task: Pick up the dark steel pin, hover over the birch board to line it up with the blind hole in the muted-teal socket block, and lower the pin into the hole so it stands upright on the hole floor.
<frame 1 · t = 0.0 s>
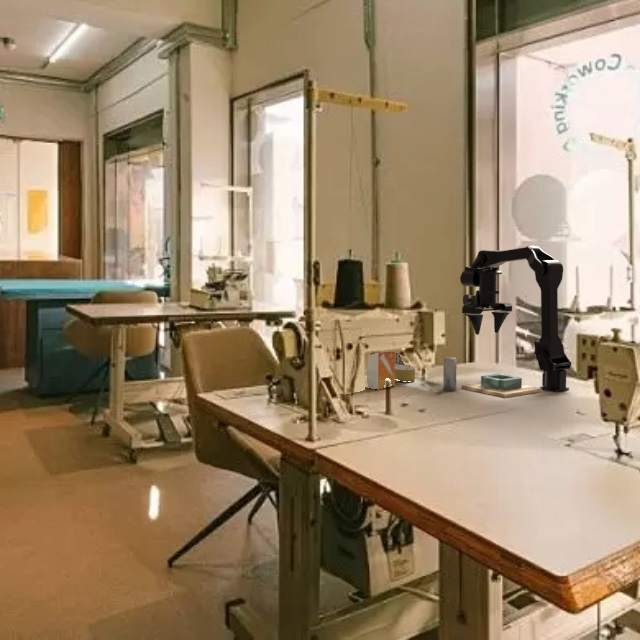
hand: (486, 333, 253), 15 cm above the table, fingers open, 9 cm apart
small box: (379, 388, 235), on the table
steel pin: (449, 390, 231), on the table
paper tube: (404, 381, 246), on the table
socket board: (500, 389, 230), on the table
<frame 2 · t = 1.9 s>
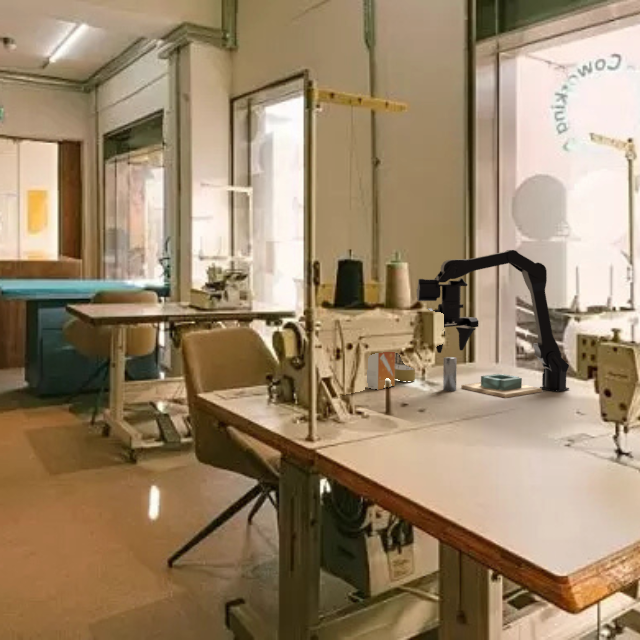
hand: (450, 351, 229), 12 cm above the table, fingers open, 9 cm apart
nothing on the table moved.
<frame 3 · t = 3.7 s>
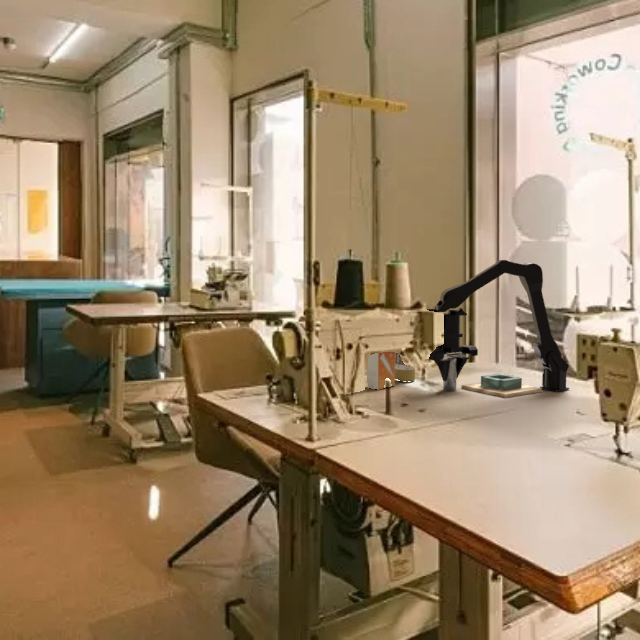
hand: (449, 380, 230), 3 cm above the table, fingers closed on steel pin, 4 cm apart
steel pin: (449, 390, 231), on the table, touching gripper
everything else where it was.
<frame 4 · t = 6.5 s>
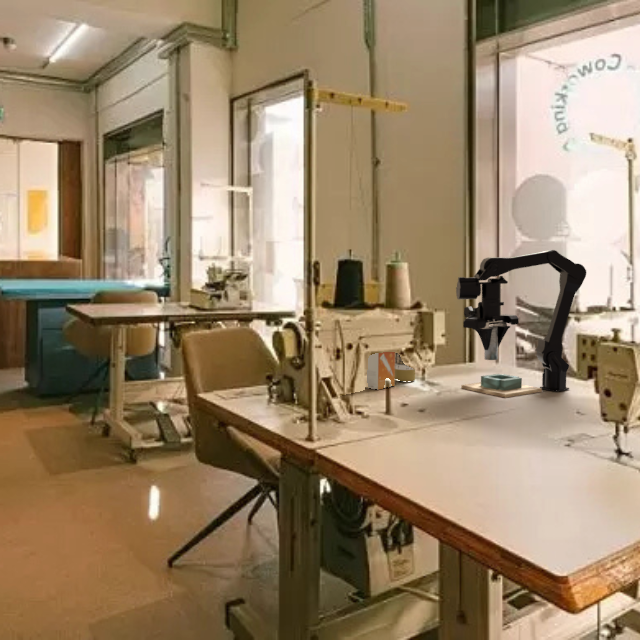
hand: (491, 349, 229), 13 cm above the table, fingers closed on steel pin, 4 cm apart
steel pin: (491, 359, 229), point 10 cm above the table, touching gripper
everything else where it was.
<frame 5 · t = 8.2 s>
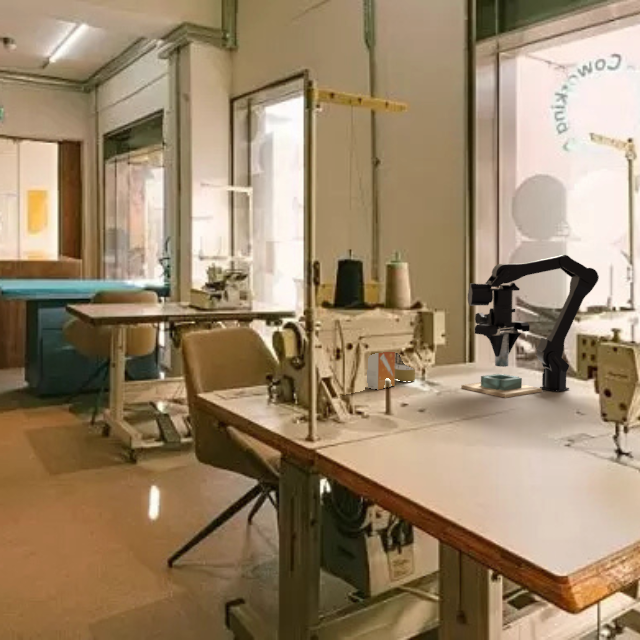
hand: (501, 355, 229), 11 cm above the table, fingers closed on steel pin, 4 cm apart
steel pin: (501, 365, 230), point 8 cm above the table, touching gripper
everything else where it was.
when the fingers open (5 cm above the table, at t = 9.7 s): steel pin stays where it is, resting on socket board.
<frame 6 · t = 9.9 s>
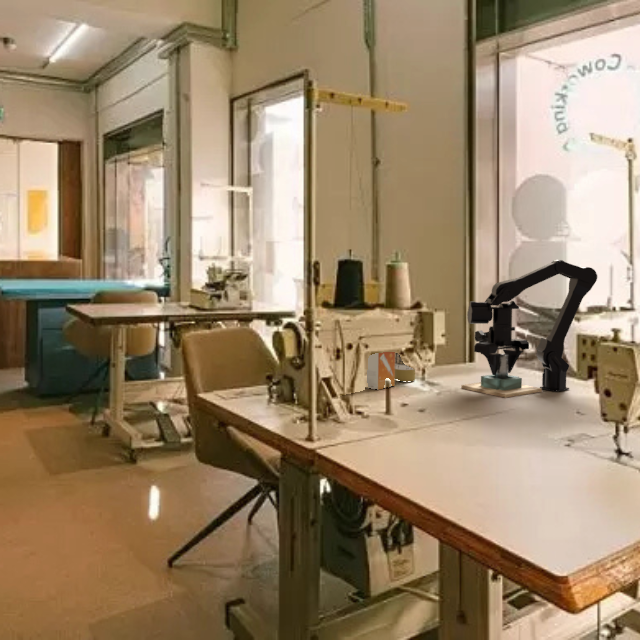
hand: (501, 373, 230), 5 cm above the table, fingers open, 6 cm apart
steel pin: (501, 386, 230), point 1 cm above the table, touching socket board
everything else where it was.
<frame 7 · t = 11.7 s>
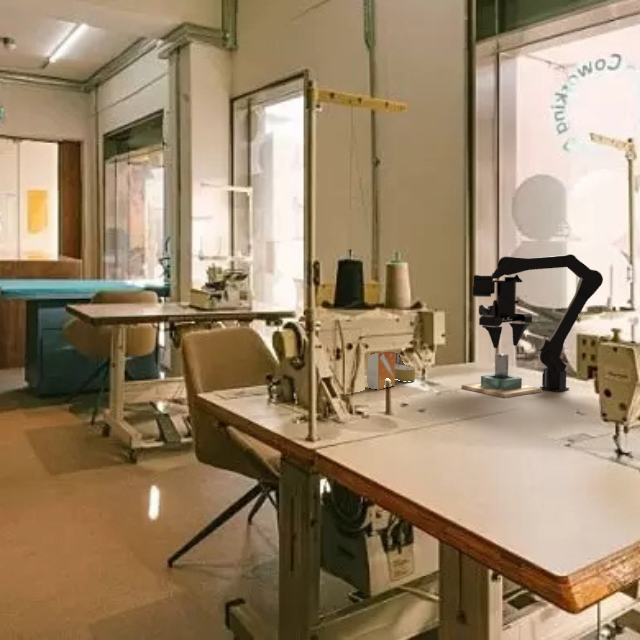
hand: (505, 346, 233), 13 cm above the table, fingers open, 9 cm apart
nothing on the table moved.
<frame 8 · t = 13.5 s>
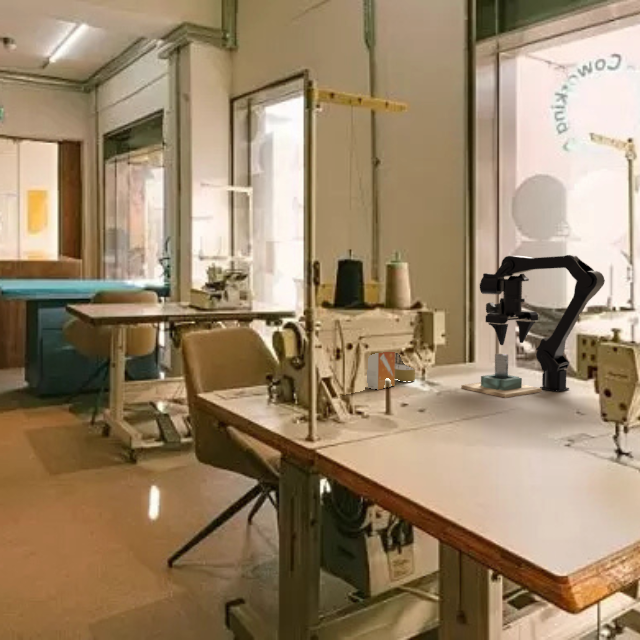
hand: (511, 343, 239), 13 cm above the table, fingers open, 9 cm apart
nothing on the table moved.
at the end: steel pin 0.0 cm off-centre on the socket board, point 1.0 cm above the socket board's base; steel pin tilted 0°; the gripper is holding nothing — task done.
